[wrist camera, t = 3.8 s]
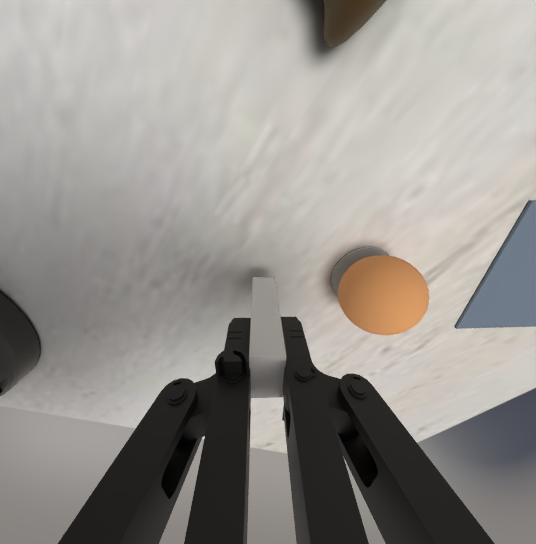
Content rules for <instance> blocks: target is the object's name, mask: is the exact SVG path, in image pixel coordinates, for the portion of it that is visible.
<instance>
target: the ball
mask: <svg viewBox="0 0 536 544" xmlns="http://www.w3.org/2000/svg"><path fill="white" fill-rule="evenodd" d="M338 298H339V302H340V306H341V308H342V310H343V312H344V314H345V315H346V316H347V318H348V319H349V320H350V321H351V322H352V323H354V324H355V325H356V326H358V327H359V328H361V329H363V330H365V331H367V332H370V333H374V334H379V335H393V334H399V333H402V332H405V331H407V330H409V329H411V328H412V327H414V326H415V325H416V324H417V323H418V322H419V321H420V320H421V319H422V318H423V316H424V314H425V313H426V310H427V308H428V304H429V290H428V287H427V284H426V282H425V280H424V278H423V276H422V275H421V274H420V272H419V271H418V270H417V269H416V268H415V267H413V266H412V265H411V264H409V263H408V262H406V261H404V260H402V259H399V258H396V257H393V256H387V255H376V256H370V257H366V258H363V259H361V260H359V261H357V262H355V263H354V264H353V265H351V266H350V267H349V268H348V269H347V270H346V272H345V273H344V275H343V276H342V278H341V280H340V284H339V289H338Z"/></svg>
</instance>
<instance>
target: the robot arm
mask: <svg viewBox="0 0 536 544" xmlns="http://www.w3.org/2000/svg"><path fill="white" fill-rule="evenodd" d="M39 355H40V346H39V341H38V338H37V335H36V333H35V331H34V329H33V327H32V326H31V324H30V323H29V321H28V320H27V319H26V317H25V316H24V315H23V314H22V313H21V311H20V310H19V309H18V308H17V307H16V306H15V305H14V304H13V303H12V302H10V301H9V300H8V299H7V298H6V297H5V296H4V295H2V294H1V293H0V396H2V395H3V394H5V393H6V392H7V391H9V390H10V389H11V388H12V387H13V386H14V385H16V384H17V383H18V382H19V381H20V380H21V379H22V378H23V377H24V376H25V375H26V374H28V373H29V372H30V371H31V370H32V369H33V368H34V367H35V365H36V364H37V362H38V359H39ZM215 367H216V373H215V374H214V375H213V376H211V377H210V378H207V379H205V380H202V381H199V382H196V383H193V381H191V380H189V379H185V378H180V379H177V380H174V381H172V382H171V383H169V384H168V385H166V386H165V388H164V389H163V390H162V391H161V392H160V394H159V395H158V397H157V398H156V400H155V401H154V403H153V404H152V406H151V407H150V409H149V410H148V412H147V413H146V414H145V416H144V417H143V419H142V420H141V422H140V423H139V425H138V426H137V428H136V429H135V431H134V432H133V434H132V435H131V437H130V438H129V440H128V441H127V442H126V444H125V445H124V447H123V448H122V450H121V451H120V453H119V454H118V456H117V458H116V459H115V460H114V462H113V463H112V465H111V466H110V468H109V469H108V471H107V472H106V473H105V475H104V477H103V478H102V479H101V481H100V482H99V484H98V485H97V487H96V488H95V490H94V491H93V493H92V494H91V496H90V497H89V499H88V500H87V501H86V503H85V505H84V506H83V507H82V509H81V510H80V512H79V513H78V515H77V516H76V518H75V519H74V521H73V522H72V524H71V525H70V527H69V528H68V530H67V531H66V533H65V534H64V535H63V537H62V539H61V540H60V541H59V543H58V544H159V542H160V539H161V537H162V534H163V532H164V529H165V527H166V524H167V522H168V520H169V517H170V514H171V512H172V510H173V507H174V505H175V502H176V500H177V498H178V495H179V493H180V490H181V488H182V486H183V483H184V481H185V478H186V476H187V473H188V471H189V468H190V466H191V463H192V461H193V459H194V456H195V454H196V451H197V449H198V446H199V444H200V441H201V439H202V437H203V436H205V439H204V444H203V450H202V454H201V460H200V465H199V470H198V475H197V480H196V485H195V491H194V496H193V501H192V506H191V511H190V517H189V522H188V527H187V532H186V537H185V542H184V544H247V523H248V522H247V521H248V520H247V519H248V487H249V448H250V415H251V409H250V402H251V398H267V397H283V398H284V408H283V419H282V420H284V422H285V432H286V442H287V452H288V461H289V472H290V480H291V491H292V501H293V511H294V520H295V531H296V541H297V544H369V543H368V540H367V537H366V533H365V530H364V526H363V523H362V519H361V516H360V513H359V509H358V506H357V502H356V499H355V495H354V492H353V488H352V485H351V481H350V478H349V475H348V471H347V468H346V464H345V461H344V458H345V460H346V463H347V464H348V467H349V469H350V471H351V473H352V475H353V477H354V479H355V481H356V483H357V485H358V487H359V489H360V491H361V493H362V495H363V498H364V500H365V502H366V504H367V506H368V508H369V510H370V512H371V514H372V516H373V518H374V520H375V522H376V524H377V526H378V528H379V530H380V533H381V535H382V537H383V539H384V541H385V543H386V544H494V542H493V541H492V540H491V538H490V537H489V536H488V535H487V533H486V532H485V531H484V529H483V528H482V527H481V526H480V524H479V523H478V522H477V520H476V519H475V518H474V517H473V515H472V514H471V513H470V511H469V510H468V509H467V507H466V506H465V505H464V504H463V502H462V501H461V500H460V498H459V497H458V496H457V494H456V493H455V492H454V491H453V489H452V488H451V487H450V485H449V484H448V483H447V482H446V480H445V479H444V478H443V476H442V475H441V474H440V472H439V471H438V470H437V469H436V467H435V466H434V465H433V463H432V462H431V461H430V459H429V458H428V457H427V456H426V454H425V453H424V452H423V450H422V449H421V448H420V447H419V445H418V444H417V443H416V441H415V440H414V439H413V437H412V436H411V435H410V434H409V432H408V431H407V430H406V428H405V427H404V426H403V425H402V423H401V422H400V421H399V419H398V418H397V417H396V415H395V414H394V413H393V412H392V410H391V409H390V408H389V406H388V405H387V404H386V402H385V401H384V400H383V399H382V397H381V396H380V395H379V393H378V392H377V391H376V390H375V388H374V387H373V386H372V384H371V383H370V382H369V381H368V380H367V379H365V378H363V377H362V376H360V375H356V374H346V375H344V376H343V377H342V378H341V379H339V378H335V377H331V376H328V375H326V374H323V373H322V372H320V371H319V370H318V369H317V368H316V367H315V366H314V365H313V363H312V360H311V357H310V353H309V350H308V346H307V343H306V339H305V335H304V332H303V328H302V324H301V322H300V321H299V320H298V319H297V318H296V317H280V310H279V303H278V297H277V290H276V283H275V277H253V284H252V305H251V318H234V319H233V320H232V321H231V322H230V324H229V327H228V333H227V339H226V344H225V349H224V351H223V352H221V353H220V354H219V355H218V356H217V358H216V360H215ZM343 456H344V457H343Z"/></svg>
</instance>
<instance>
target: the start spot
mask: <svg viewBox="0 0 536 544" xmlns="http://www.w3.org/2000/svg"><path fill="white" fill-rule="evenodd" d="M376 255H387V256H389V255H388V254H387V253H386V252H384V251H383V250H381V249H378V248H374V247H363V248H359V249H356V250H354V251H351V252H350V253H348V254H347V255H345V256H344V257H343V258H342V259H341V260H340V261H339V262H338V263H337V265H336V266H335V268H334V270H333V273H332V277H331V283H332V287H333V289H334V291H335V293H336V294H337V295H338V289H339V284H340V280H341V278H342V276H343V275H344V273H345V272H346V270H347V269H348V268H349V267H350V266H351V265H353V264H354V263H355V262H357V261H359V260H361V259H363V258H366V257H370V256H376Z"/></svg>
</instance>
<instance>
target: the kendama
mask: <svg viewBox="0 0 536 544" xmlns="http://www.w3.org/2000/svg"><path fill="white" fill-rule="evenodd" d="M323 1H324V10H325V17H324V33H323V35H324V40H325V43H326V44H327V46H328V47H336V46H338V45H340V44H341V43H343V42H345V41H347V40H348V39H349V38H350V37H351V36H352V35H353V34H354V33H355V32H357V31H358V30H359V29H360V28H361V27H362V26H363V25H364V24H365V23H366V22H367V21H368V20H369V19H370V18H371V17H372V15H373V14H374V13H375V12H376V11H377V10H378V9H379V8H380V7H381V6H382V4H383V3H384V2H385V1H386V0H323Z"/></svg>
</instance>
